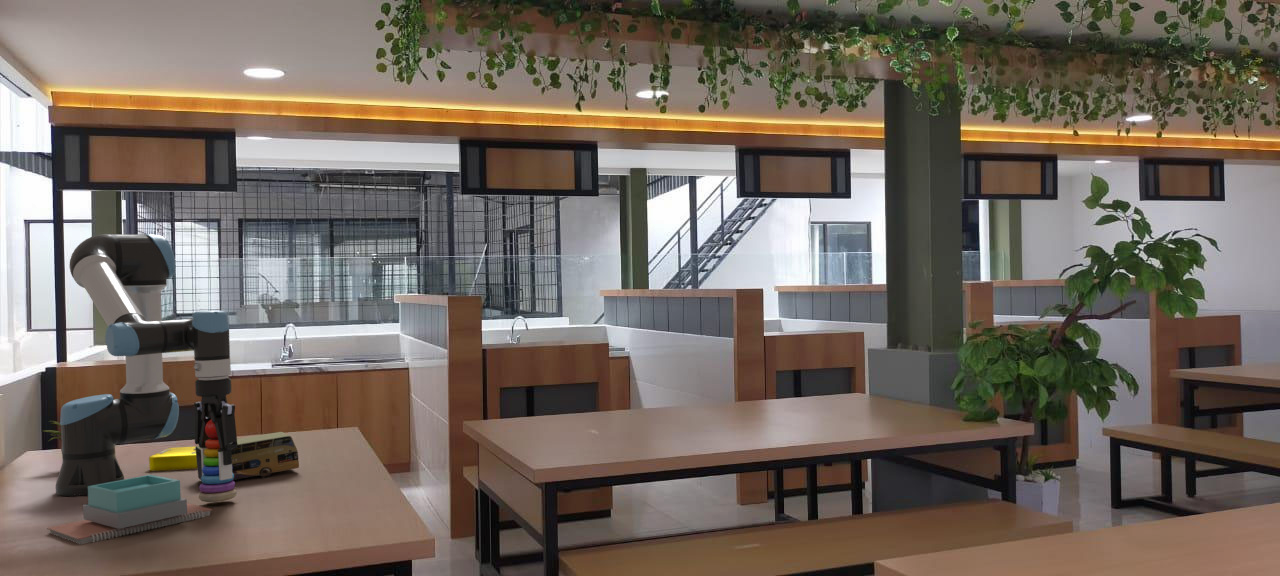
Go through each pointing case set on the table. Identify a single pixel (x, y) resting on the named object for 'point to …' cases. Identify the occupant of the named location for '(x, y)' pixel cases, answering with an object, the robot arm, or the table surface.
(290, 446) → the toy bus
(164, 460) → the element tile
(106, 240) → the robot arm
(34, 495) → the table surface
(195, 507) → the notebook
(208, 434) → the stacking toy
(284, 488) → the table surface
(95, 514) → the brick base
